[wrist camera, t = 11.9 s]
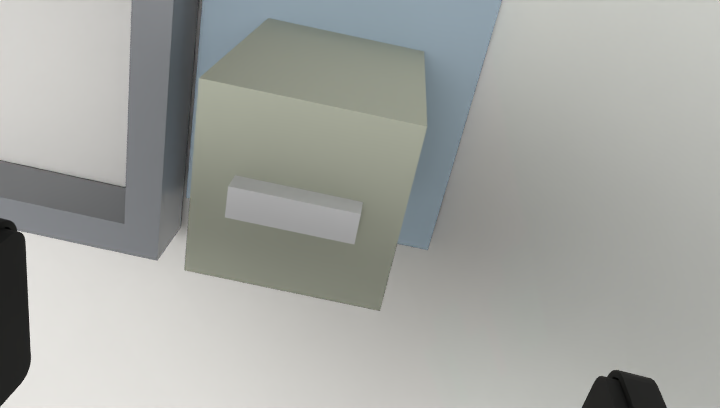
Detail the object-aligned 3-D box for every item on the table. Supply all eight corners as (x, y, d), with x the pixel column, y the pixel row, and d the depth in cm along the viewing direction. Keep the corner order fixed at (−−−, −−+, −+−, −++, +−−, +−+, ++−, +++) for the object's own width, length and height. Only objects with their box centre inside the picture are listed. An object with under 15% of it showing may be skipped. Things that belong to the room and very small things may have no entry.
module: (423, 51, 20) (427, 136, 13) (390, 191, 22) (378, 325, 15) (268, 17, 20) (189, 85, 13) (250, 161, 22) (175, 283, 15)
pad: (499, -4, 19) (501, 0, 19) (427, 241, 23) (427, 249, 23) (213, -68, 19) (207, -67, 19) (191, 190, 23) (186, 197, 23)
